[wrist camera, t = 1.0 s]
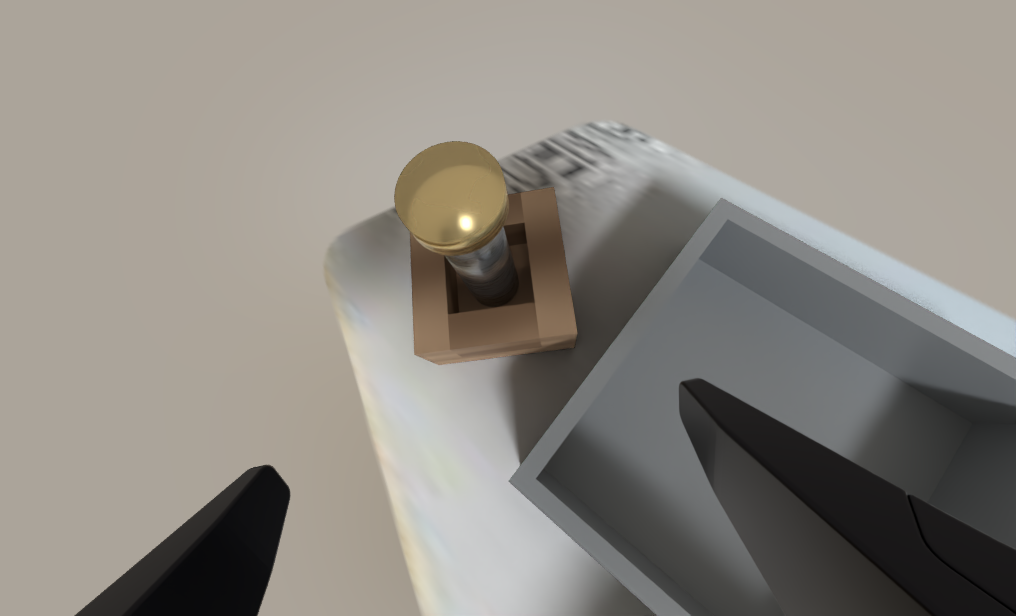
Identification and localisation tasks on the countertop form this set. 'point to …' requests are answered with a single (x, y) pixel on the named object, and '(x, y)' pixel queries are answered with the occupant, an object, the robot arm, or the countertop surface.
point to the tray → (767, 411)
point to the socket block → (505, 329)
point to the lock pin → (461, 215)
